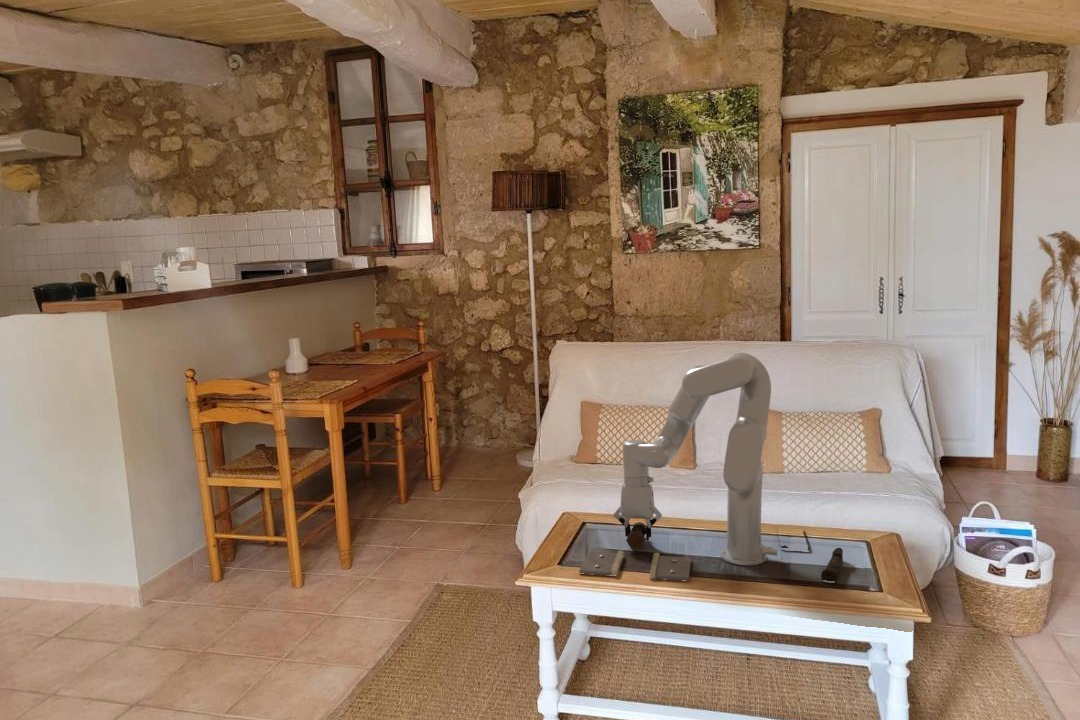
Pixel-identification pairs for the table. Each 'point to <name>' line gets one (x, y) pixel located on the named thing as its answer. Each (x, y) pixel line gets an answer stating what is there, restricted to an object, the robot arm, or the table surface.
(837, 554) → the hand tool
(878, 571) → the table surface
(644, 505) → the robot arm
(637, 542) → the bolt
